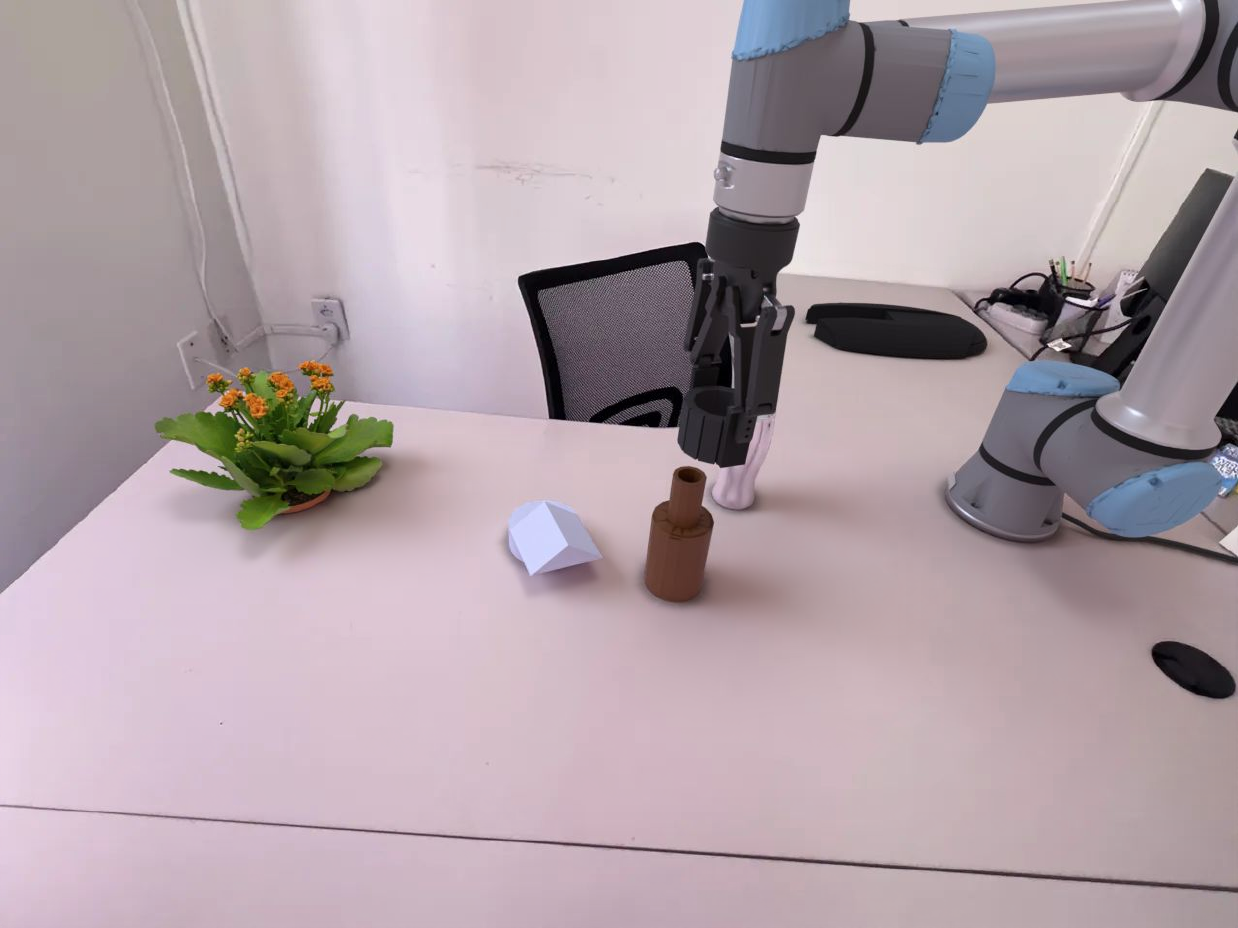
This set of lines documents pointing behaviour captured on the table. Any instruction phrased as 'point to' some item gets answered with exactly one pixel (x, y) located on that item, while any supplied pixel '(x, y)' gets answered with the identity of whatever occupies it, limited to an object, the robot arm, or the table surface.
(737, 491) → the beer glass
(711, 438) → the rubber collar
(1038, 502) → the robot arm
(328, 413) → the potted flower
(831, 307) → the black flat oval pad
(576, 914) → the table surface
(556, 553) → the wedge on round base
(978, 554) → the table surface
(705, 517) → the brown bottle
